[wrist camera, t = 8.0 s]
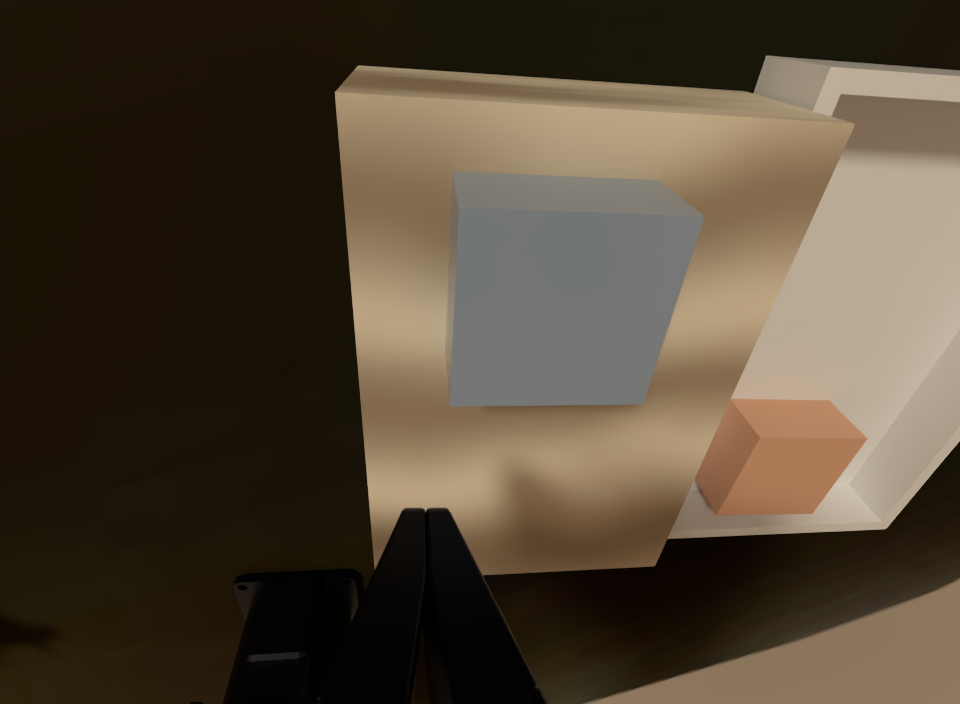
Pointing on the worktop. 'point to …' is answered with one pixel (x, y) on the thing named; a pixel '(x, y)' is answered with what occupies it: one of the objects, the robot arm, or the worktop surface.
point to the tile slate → (561, 287)
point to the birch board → (561, 428)
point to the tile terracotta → (776, 456)
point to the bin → (866, 293)
